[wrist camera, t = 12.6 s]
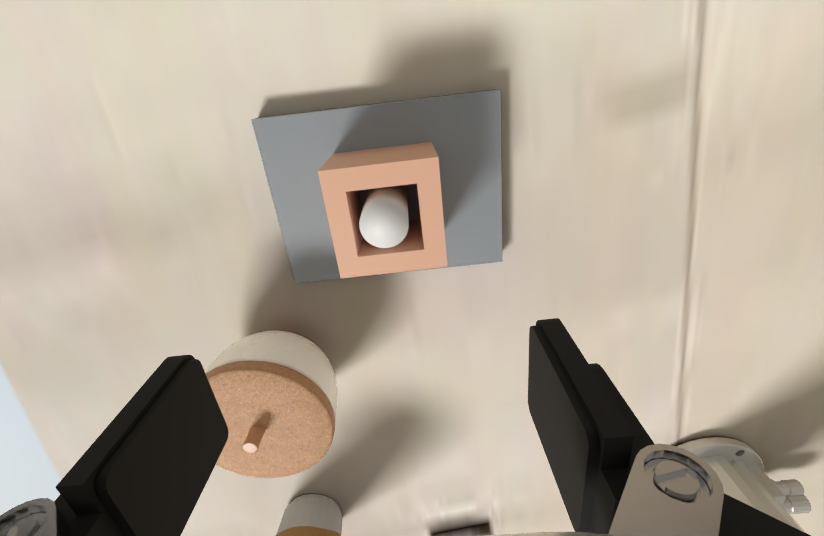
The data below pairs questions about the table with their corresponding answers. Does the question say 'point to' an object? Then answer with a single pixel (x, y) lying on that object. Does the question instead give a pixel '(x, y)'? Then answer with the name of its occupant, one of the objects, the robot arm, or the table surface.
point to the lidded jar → (274, 403)
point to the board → (387, 129)
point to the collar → (378, 171)
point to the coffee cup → (311, 517)
